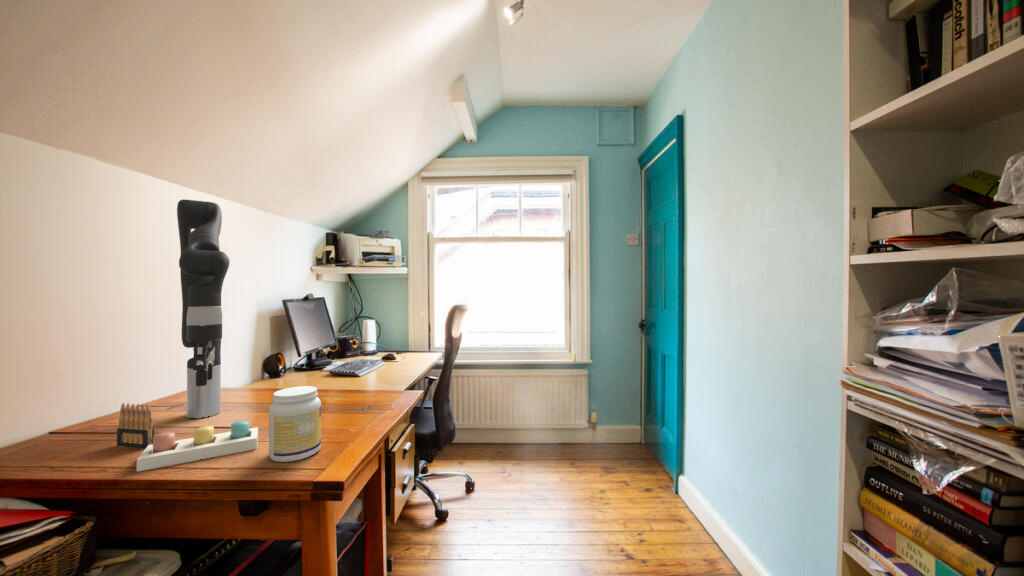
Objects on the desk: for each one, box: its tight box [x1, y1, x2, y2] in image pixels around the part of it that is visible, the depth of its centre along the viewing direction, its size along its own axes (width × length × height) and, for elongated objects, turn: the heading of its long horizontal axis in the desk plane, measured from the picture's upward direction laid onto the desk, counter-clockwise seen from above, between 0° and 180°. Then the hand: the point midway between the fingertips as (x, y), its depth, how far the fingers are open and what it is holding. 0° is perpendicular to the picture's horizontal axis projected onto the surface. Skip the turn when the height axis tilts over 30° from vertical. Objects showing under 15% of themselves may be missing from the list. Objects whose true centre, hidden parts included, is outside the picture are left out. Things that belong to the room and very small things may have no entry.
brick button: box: [153, 431, 176, 453], centre depth 96 cm, size 4×4×4 cm
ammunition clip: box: [116, 402, 155, 450], centre depth 105 cm, size 11×2×12 cm, turn 80°
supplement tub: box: [268, 385, 322, 463], centre depth 100 cm, size 12×12×17 cm
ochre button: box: [193, 425, 215, 446], centre depth 101 cm, size 4×4×4 cm
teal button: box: [230, 419, 250, 440], centre depth 105 cm, size 4×4×4 cm
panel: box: [136, 426, 259, 472], centre depth 101 cm, size 10×24×3 cm, turn 123°
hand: (204, 382), depth 101 cm, fingers open, 8 cm apart
